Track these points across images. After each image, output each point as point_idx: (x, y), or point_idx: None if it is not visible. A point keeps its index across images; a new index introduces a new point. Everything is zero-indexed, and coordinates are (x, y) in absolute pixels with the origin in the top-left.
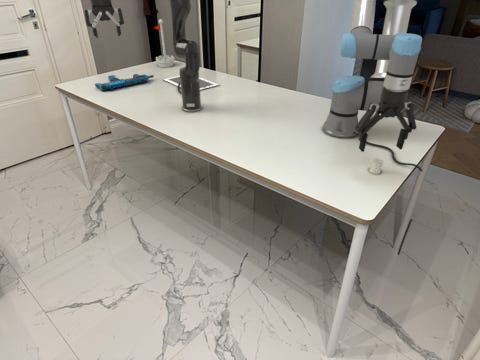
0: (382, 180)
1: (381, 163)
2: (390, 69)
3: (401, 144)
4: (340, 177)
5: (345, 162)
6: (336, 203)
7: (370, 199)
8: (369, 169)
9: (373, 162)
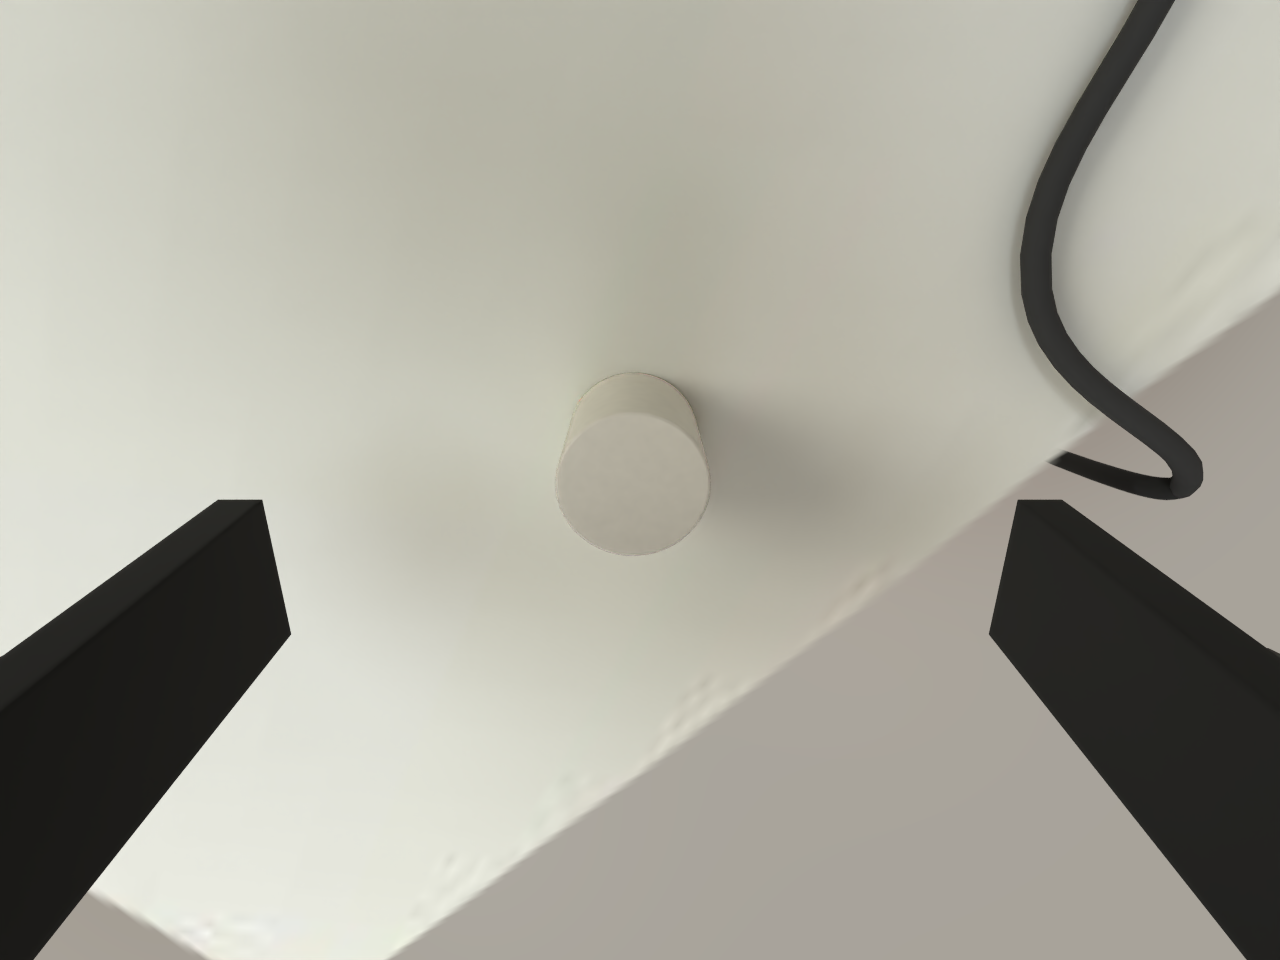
0: (631, 615)
1: (663, 548)
2: None
3: (1046, 702)
4: (188, 517)
5: (317, 170)
6: None
7: (398, 845)
8: (573, 414)
9: (563, 512)
